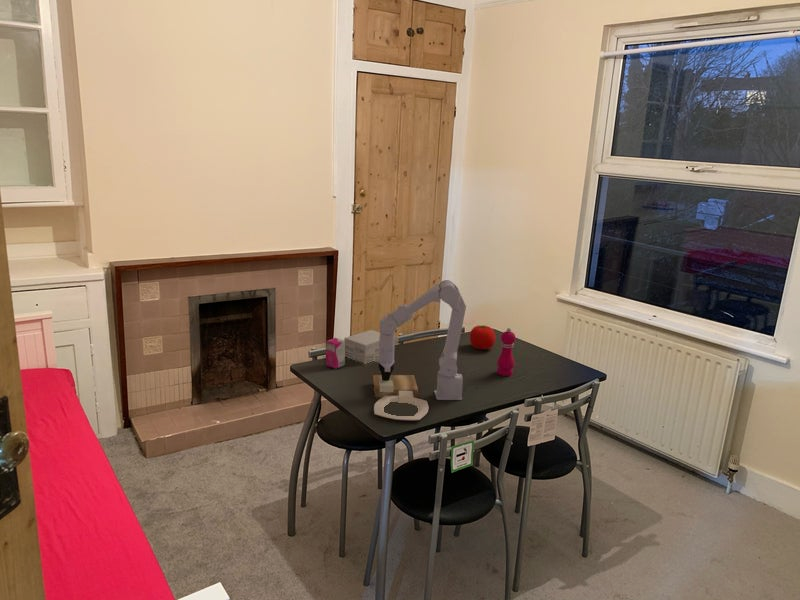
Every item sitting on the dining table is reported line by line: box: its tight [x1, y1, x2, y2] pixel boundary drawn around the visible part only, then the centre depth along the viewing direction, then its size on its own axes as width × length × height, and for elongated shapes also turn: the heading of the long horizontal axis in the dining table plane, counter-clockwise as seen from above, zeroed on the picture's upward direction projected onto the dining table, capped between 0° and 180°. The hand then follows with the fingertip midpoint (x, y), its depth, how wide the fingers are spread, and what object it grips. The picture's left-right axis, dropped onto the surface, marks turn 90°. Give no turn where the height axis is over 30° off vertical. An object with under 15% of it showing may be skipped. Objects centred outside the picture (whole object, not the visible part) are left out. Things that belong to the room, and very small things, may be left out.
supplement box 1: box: [325, 337, 346, 370], centre depth 250 cm, size 6×6×12 cm
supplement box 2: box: [343, 329, 380, 365], centre depth 263 cm, size 17×13×9 cm
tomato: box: [469, 325, 496, 350], centre depth 279 cm, size 12×13×11 cm
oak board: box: [372, 374, 419, 399], centre depth 229 cm, size 16×14×4 cm
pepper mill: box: [496, 327, 517, 377], centre depth 249 cm, size 7×7×20 cm
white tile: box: [399, 391, 413, 403], centre depth 218 cm, size 5×5×2 cm
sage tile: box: [379, 381, 393, 392], centre depth 221 cm, size 5×5×2 cm
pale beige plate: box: [373, 396, 430, 421], centre depth 212 cm, size 19×19×2 cm
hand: (385, 382), depth 225 cm, fingers closed
